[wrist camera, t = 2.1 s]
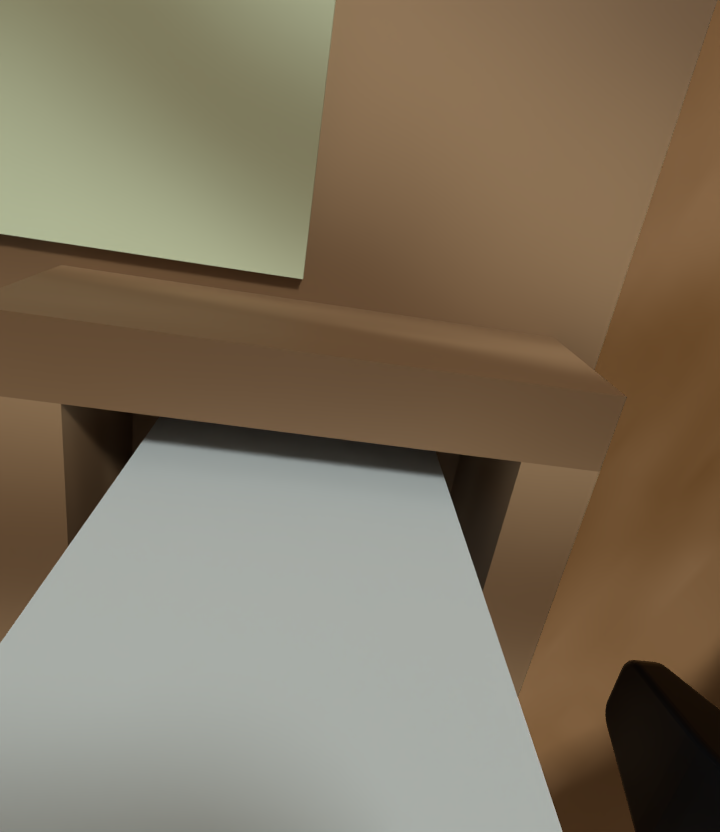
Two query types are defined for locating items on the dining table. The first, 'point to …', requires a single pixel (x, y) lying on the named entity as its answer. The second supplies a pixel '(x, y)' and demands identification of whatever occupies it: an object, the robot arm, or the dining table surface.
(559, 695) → the dining table surface
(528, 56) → the brown slotted holder
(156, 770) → the block
